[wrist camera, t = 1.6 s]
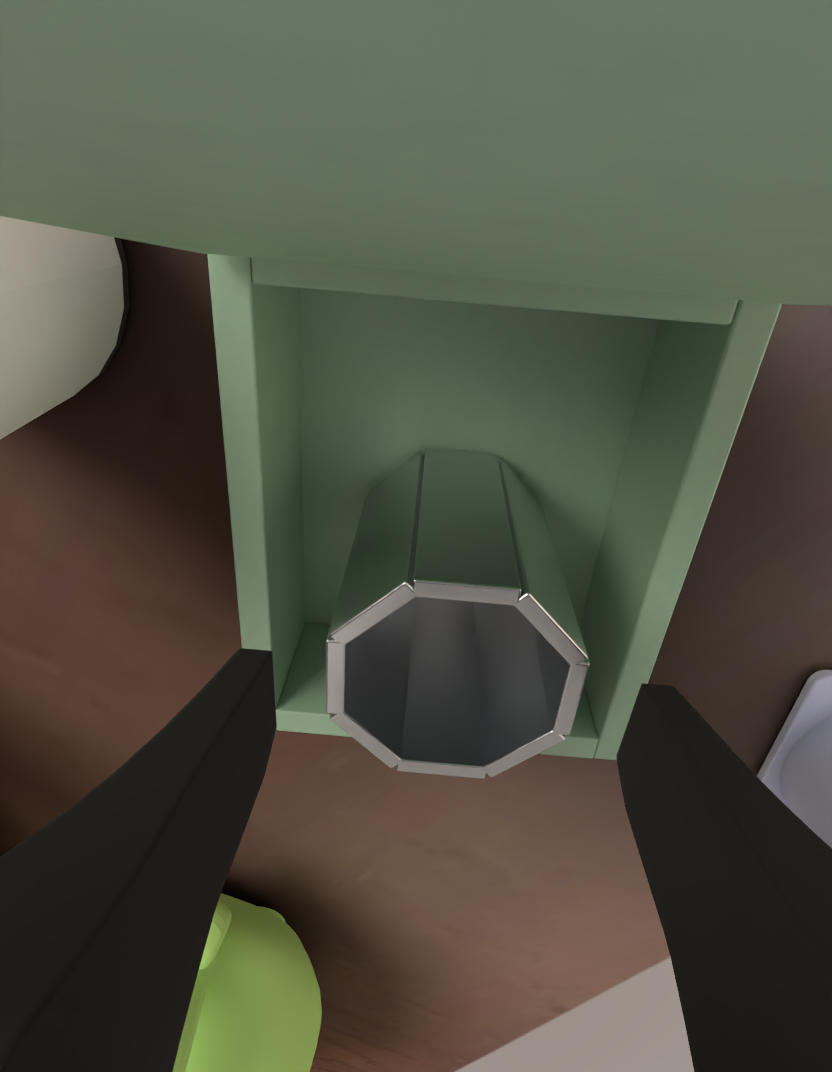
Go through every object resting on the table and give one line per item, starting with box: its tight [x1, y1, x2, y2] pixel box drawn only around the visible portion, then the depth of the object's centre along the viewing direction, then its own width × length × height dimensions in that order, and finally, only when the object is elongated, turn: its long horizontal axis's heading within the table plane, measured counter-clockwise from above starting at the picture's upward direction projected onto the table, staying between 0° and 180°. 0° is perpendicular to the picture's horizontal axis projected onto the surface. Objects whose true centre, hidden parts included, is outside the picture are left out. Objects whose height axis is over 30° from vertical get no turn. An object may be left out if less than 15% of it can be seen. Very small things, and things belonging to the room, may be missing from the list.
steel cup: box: [326, 449, 590, 779], centre depth 15 cm, size 5×5×7 cm
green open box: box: [207, 254, 782, 760], centre depth 16 cm, size 13×11×5 cm
